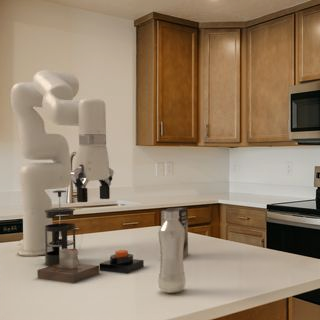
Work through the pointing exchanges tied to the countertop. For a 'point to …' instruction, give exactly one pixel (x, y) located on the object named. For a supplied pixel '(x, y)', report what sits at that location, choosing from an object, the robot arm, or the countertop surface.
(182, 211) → the coffee box
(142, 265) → the button box
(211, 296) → the countertop surface
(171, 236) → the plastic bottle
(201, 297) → the countertop surface
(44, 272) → the dial panel
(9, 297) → the countertop surface
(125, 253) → the button
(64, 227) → the french press
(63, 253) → the bar knob
